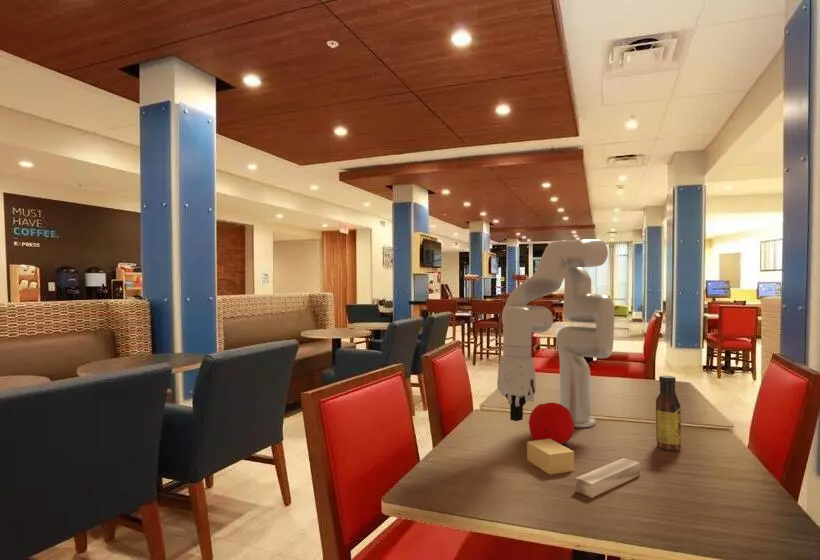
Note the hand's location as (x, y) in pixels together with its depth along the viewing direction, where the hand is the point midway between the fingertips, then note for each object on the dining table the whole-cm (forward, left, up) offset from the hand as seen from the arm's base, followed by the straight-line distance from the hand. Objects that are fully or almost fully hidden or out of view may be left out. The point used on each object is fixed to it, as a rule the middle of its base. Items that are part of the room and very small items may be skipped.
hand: (516, 419), depth 129 cm
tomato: (0, +15, -9) cm, 17 cm away
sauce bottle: (+22, +38, -9) cm, 45 cm away
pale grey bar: (+25, +3, -9) cm, 27 cm away
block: (+10, +1, -10) cm, 14 cm away
